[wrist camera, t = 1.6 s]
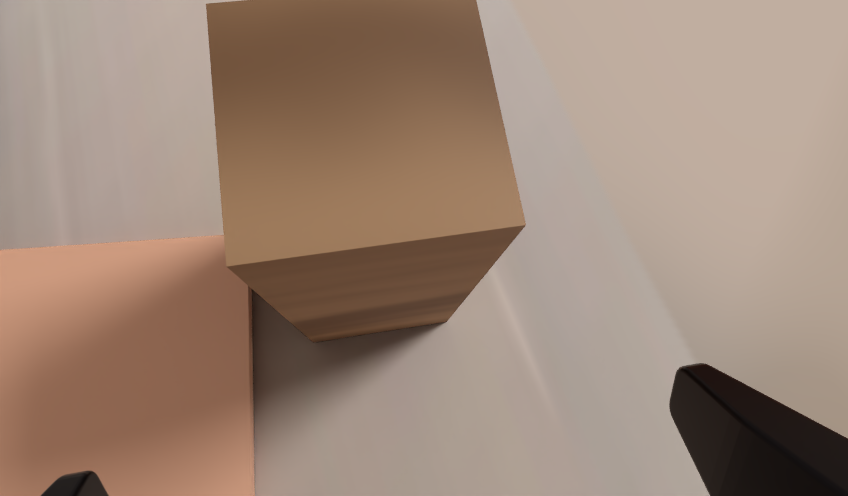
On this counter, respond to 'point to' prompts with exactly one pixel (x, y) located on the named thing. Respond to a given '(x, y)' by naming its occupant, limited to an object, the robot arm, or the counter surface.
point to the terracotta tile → (126, 368)
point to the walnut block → (359, 158)
